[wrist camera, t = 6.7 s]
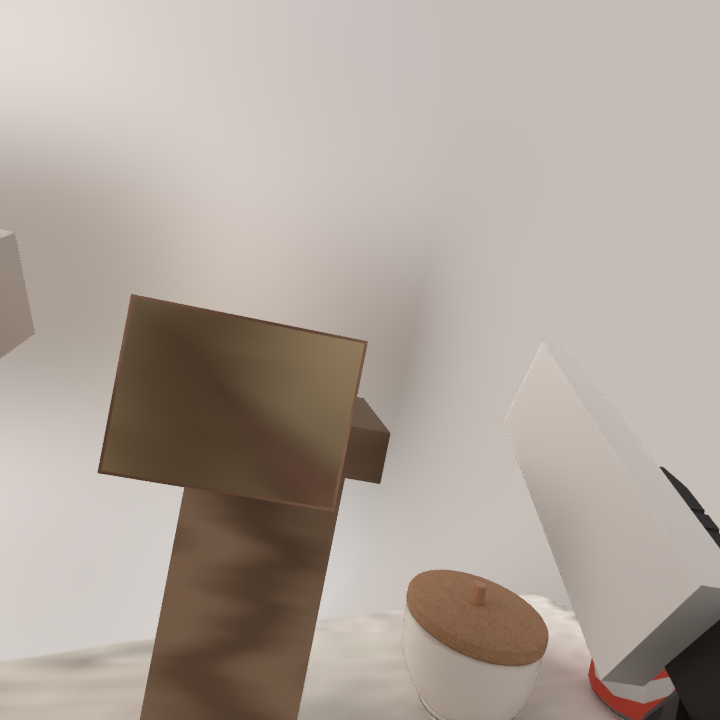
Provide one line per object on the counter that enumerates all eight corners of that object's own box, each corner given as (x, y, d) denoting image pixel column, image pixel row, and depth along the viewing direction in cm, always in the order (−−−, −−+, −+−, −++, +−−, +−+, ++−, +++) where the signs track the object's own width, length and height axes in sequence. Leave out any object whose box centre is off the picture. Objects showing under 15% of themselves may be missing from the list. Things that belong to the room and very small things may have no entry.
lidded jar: (478, 651, 42) (498, 554, 42) (560, 757, 32) (587, 628, 31) (371, 653, 39) (392, 547, 39) (424, 771, 28) (453, 628, 28)
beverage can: (574, 689, 39) (602, 555, 39) (608, 670, 43) (633, 548, 43) (650, 746, 34) (683, 594, 34) (681, 719, 38) (710, 582, 38)
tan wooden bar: (97, 473, 8) (131, 294, 8) (267, 375, 32) (275, 331, 31) (334, 511, 8) (367, 341, 8) (324, 385, 32) (332, 343, 32)
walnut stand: (40, 977, 17) (151, 389, 16) (151, 727, 28) (219, 371, 27) (278, 992, 18) (390, 433, 17) (294, 743, 29) (363, 398, 28)
